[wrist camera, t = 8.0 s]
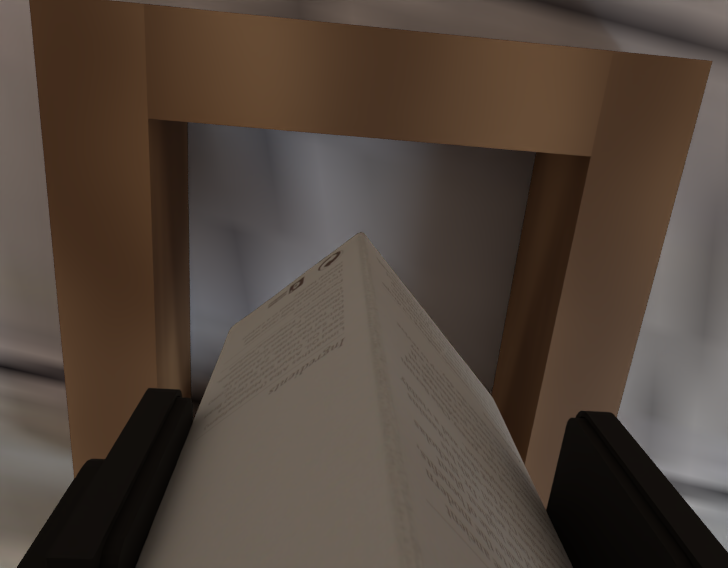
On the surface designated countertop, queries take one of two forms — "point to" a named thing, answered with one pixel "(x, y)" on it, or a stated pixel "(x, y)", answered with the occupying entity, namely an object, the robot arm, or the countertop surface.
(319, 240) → the countertop surface
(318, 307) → the skincare box
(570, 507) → the robot arm
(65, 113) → the square wooden frame
